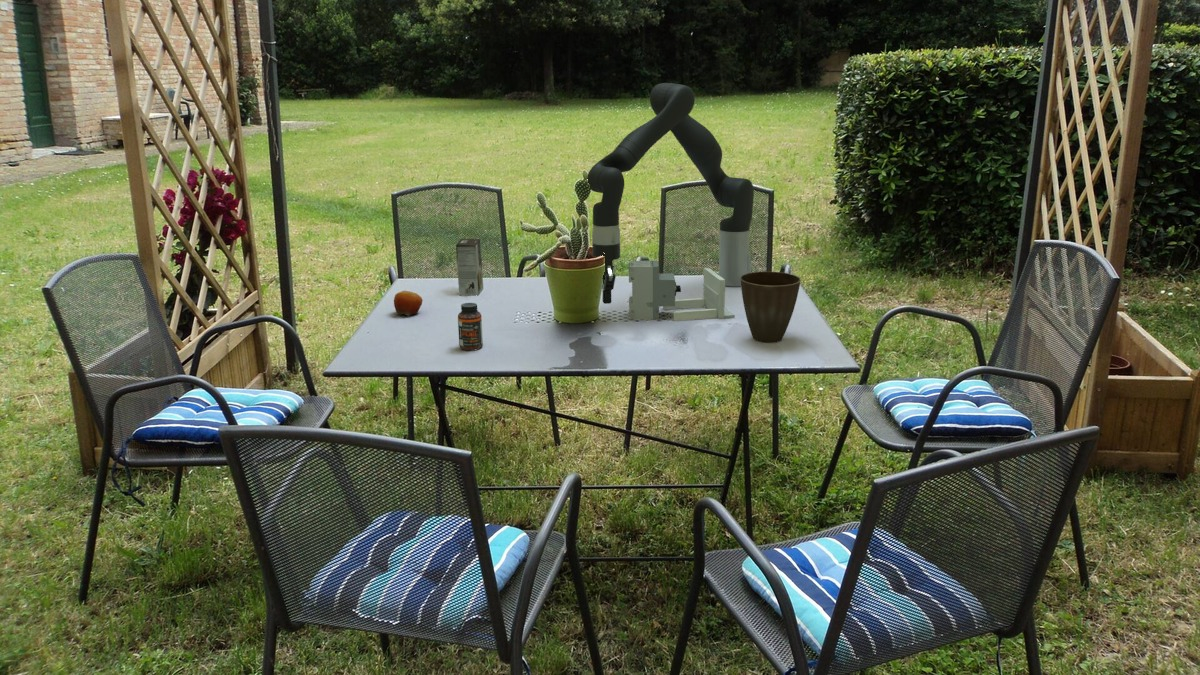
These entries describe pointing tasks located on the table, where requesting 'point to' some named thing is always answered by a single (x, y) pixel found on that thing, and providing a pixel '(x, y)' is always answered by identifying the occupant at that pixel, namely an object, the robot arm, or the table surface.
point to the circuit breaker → (650, 290)
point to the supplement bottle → (470, 327)
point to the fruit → (407, 303)
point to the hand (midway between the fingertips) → (606, 302)
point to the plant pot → (769, 303)
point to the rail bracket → (704, 301)
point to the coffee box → (469, 267)
